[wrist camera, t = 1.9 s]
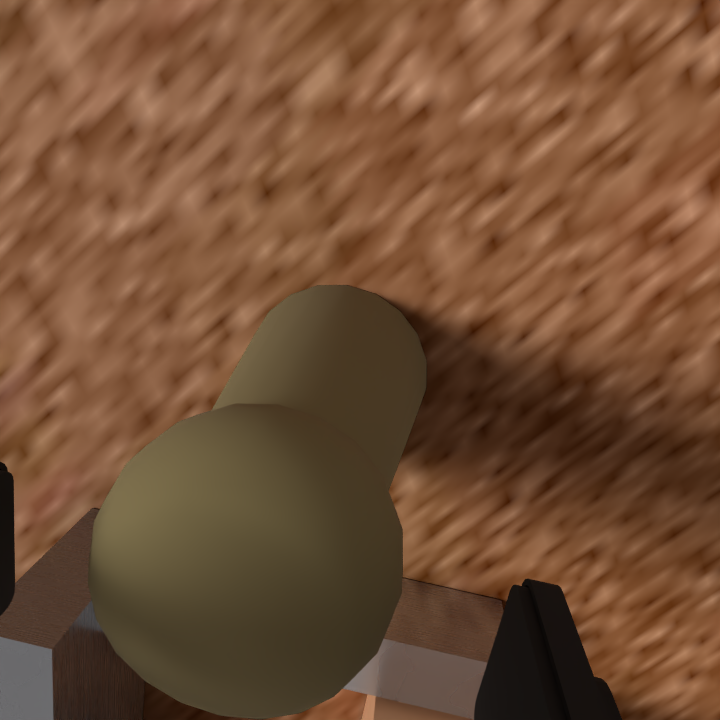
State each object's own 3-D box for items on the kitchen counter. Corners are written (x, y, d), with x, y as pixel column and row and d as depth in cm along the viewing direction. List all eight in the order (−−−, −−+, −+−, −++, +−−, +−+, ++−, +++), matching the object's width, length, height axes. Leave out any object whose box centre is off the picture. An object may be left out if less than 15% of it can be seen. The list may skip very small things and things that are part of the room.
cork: (289, 251, 17) (72, 361, 7) (461, 336, 17) (516, 573, 7) (223, 408, 19) (-23, 683, 9) (378, 482, 19) (322, 838, 9)
